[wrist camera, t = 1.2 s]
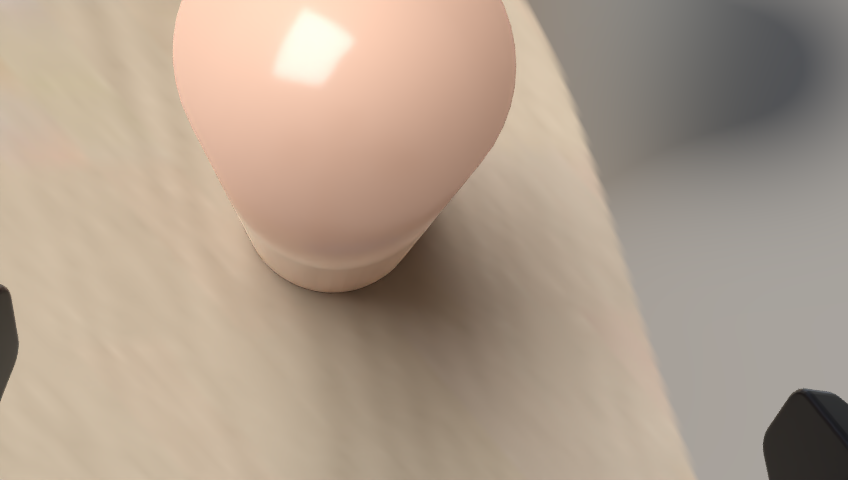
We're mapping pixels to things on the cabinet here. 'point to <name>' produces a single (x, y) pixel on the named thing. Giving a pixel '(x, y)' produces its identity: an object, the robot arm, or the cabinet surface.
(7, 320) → the robot arm
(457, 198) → the cabinet surface
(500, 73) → the peach rounded peg
